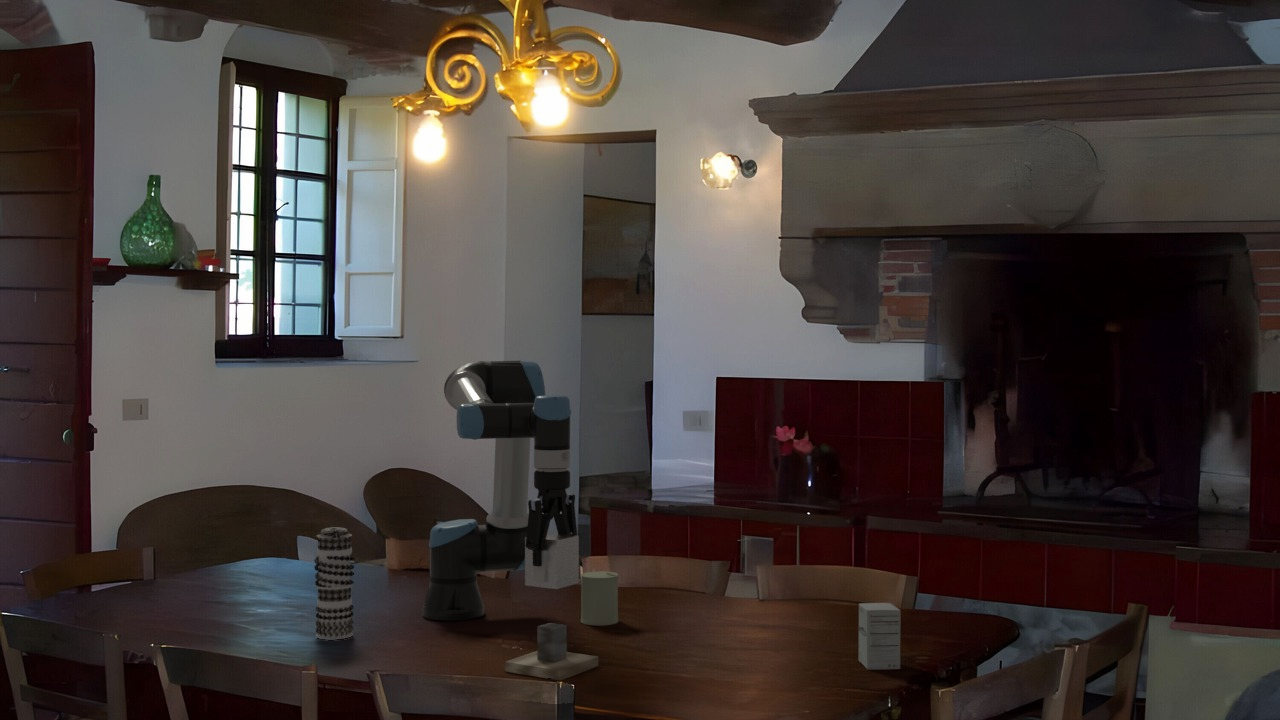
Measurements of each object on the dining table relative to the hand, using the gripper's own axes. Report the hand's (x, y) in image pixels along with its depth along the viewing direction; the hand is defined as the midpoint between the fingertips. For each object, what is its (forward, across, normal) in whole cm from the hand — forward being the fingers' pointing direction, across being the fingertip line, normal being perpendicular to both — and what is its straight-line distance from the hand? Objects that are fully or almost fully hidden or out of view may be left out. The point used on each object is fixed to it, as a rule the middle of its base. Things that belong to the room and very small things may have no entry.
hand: (552, 578), depth 279 cm
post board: (+19, 0, 0) cm, 19 cm away
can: (+19, +44, +17) cm, 51 cm away
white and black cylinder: (+19, -2, +60) cm, 63 cm away
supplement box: (+19, +39, -57) cm, 72 cm away
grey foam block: (+1, 0, 0) cm, 1 cm away
